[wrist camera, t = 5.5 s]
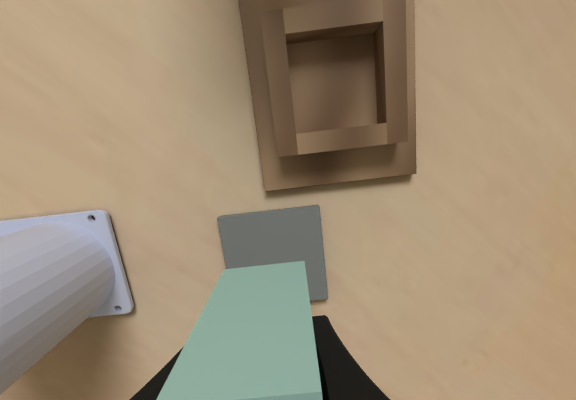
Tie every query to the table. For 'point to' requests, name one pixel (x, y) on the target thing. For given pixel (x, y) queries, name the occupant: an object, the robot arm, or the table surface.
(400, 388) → the table surface
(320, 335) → the robot arm
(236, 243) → the pad
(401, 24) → the pocket board
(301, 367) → the block
